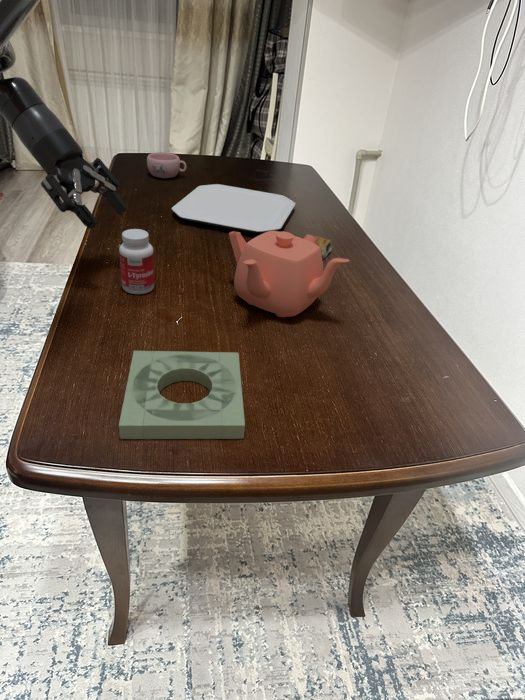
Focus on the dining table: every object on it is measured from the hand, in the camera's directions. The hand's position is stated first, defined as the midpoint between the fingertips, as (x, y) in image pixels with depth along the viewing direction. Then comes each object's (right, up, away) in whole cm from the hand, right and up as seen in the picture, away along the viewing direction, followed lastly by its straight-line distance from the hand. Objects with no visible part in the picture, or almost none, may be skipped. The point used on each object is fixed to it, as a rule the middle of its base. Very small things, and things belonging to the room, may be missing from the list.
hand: (109, 218), depth 89 cm
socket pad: (+17, -31, -18) cm, 40 cm away
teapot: (+31, -15, +6) cm, 35 cm away
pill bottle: (+4, -12, +6) cm, 14 cm away
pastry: (+40, -1, +27) cm, 48 cm away
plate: (+21, +13, +43) cm, 50 cm away
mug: (-2, +30, +63) cm, 70 cm away
